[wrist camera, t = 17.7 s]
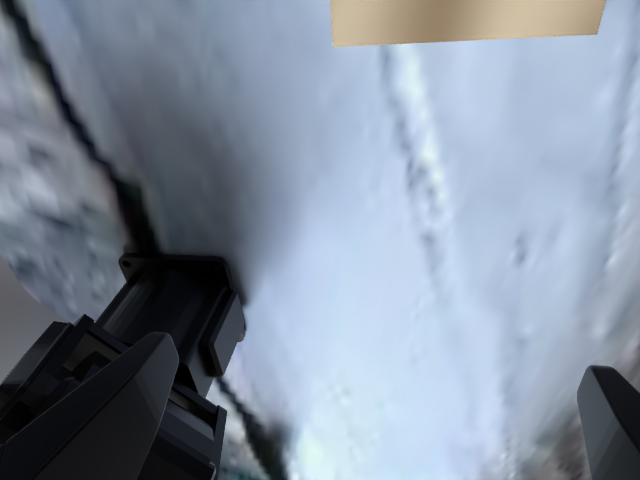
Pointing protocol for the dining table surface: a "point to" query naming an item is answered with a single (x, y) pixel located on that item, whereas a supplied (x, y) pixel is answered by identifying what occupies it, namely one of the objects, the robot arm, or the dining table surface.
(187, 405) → the robot arm
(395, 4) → the board
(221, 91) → the dining table surface
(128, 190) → the dining table surface
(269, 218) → the dining table surface
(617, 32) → the dining table surface
